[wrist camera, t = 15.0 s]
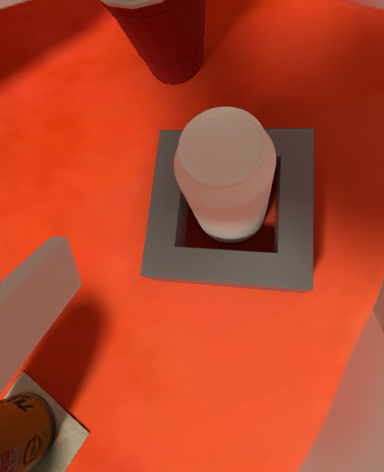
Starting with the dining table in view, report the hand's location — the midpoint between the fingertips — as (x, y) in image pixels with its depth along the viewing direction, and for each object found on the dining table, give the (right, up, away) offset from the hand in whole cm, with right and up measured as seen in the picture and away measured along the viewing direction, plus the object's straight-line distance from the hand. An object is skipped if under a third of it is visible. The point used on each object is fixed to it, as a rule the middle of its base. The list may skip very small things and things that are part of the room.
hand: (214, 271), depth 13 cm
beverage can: (+3, +4, +15) cm, 16 cm away
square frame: (+3, +3, +15) cm, 16 cm away
